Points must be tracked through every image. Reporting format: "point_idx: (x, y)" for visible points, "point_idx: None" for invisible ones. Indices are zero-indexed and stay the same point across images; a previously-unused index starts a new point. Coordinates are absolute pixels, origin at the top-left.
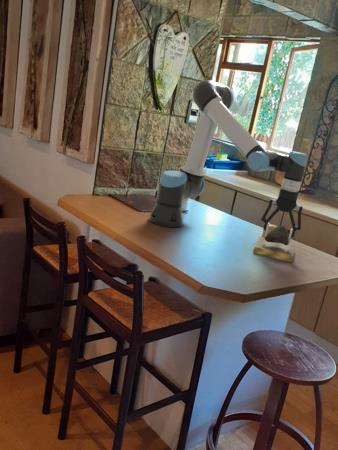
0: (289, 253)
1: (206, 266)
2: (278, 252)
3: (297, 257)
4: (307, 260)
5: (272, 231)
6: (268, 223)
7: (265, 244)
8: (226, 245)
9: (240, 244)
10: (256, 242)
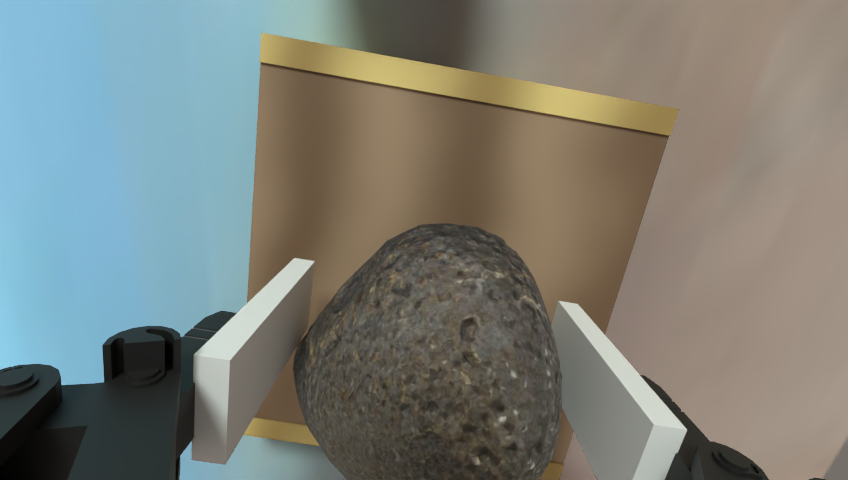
0: None
1: None
2: None
3: (631, 292)
4: (706, 316)
5: (332, 455)
6: (209, 415)
7: None
8: (51, 364)
9: (144, 263)
10: (250, 298)
